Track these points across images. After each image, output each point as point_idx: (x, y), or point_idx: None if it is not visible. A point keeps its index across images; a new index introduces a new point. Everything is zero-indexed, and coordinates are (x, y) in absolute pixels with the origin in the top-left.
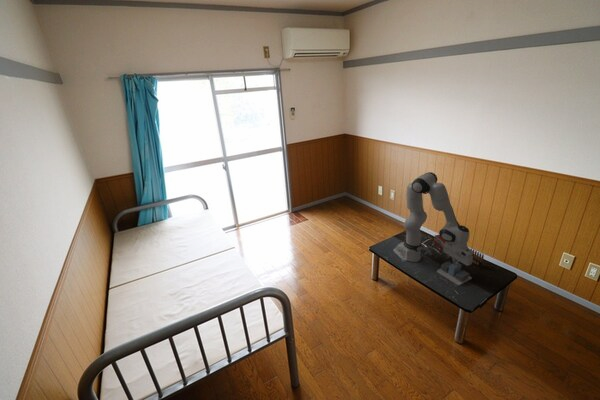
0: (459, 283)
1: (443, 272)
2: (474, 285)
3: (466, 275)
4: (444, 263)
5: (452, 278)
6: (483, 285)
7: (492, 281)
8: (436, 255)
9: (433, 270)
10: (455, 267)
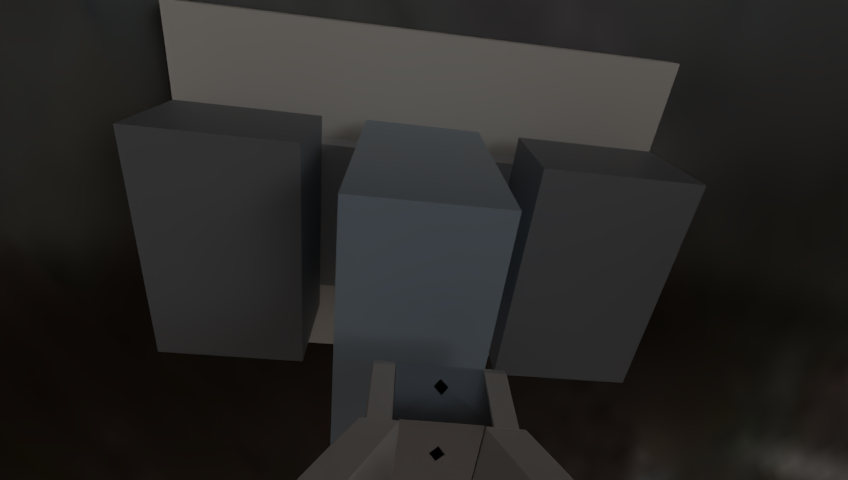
0: (184, 46)
1: (557, 115)
2: (76, 222)
3: (144, 266)
4: (654, 279)
5: (354, 83)
6: (30, 310)
7: (59, 436)
8: (784, 398)
9: (726, 48)
10: (354, 263)
